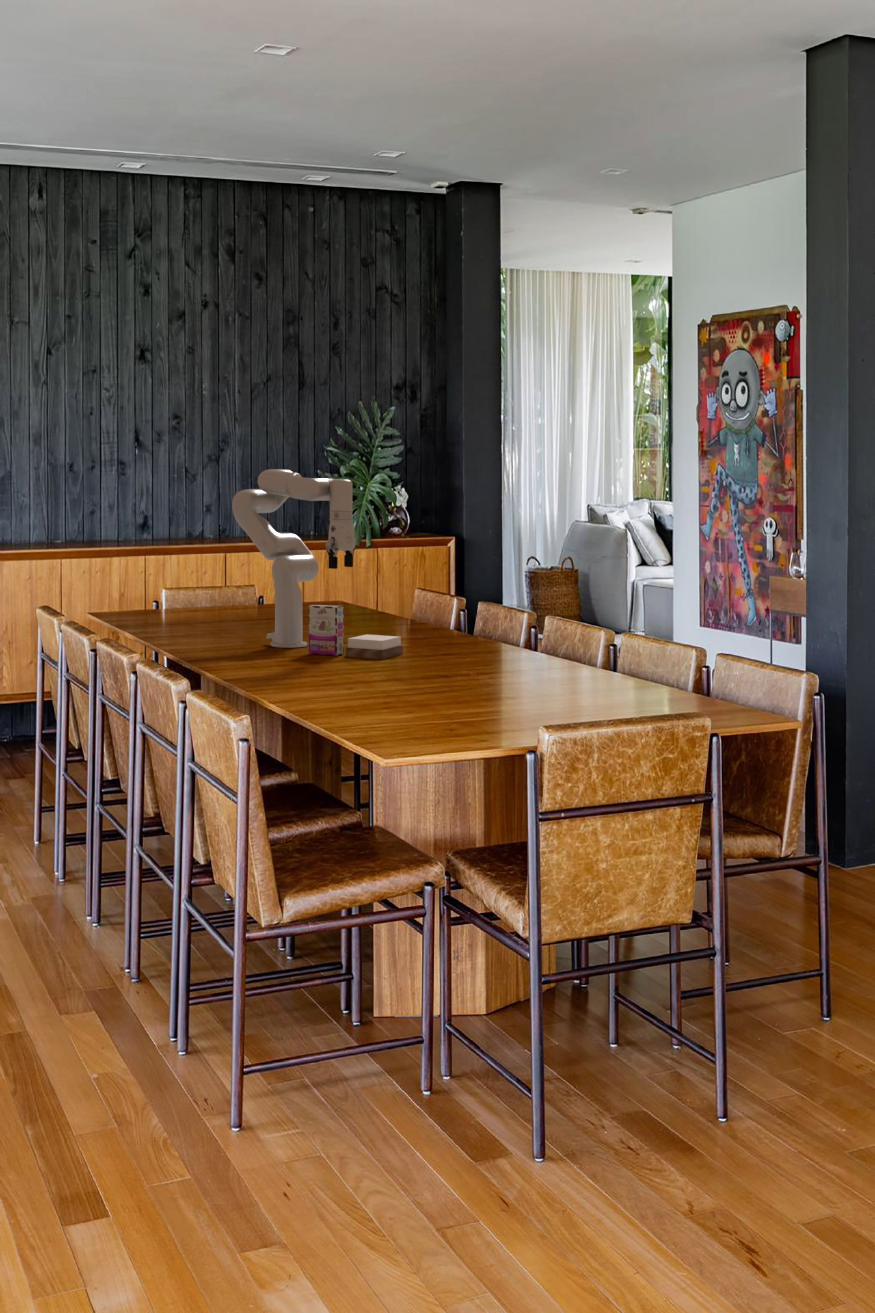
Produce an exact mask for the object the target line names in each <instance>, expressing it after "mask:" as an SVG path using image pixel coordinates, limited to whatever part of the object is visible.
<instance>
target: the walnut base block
mask: <svg viewBox="0 0 875 1313" xmlns="http://www.w3.org/2000/svg"><path fill="white" fill-rule="evenodd" d="M403 646H404V645H401V646H397V647H393V648H389V649H384V650H377V649H363V648H348V646H347V647H345V657H351V658H353V657H354V658H365V659H377V660H378V659H380V660H385V659H389V658H393V657H397V656H400V655H403V652H404V650H403V649H404V647H403Z"/></svg>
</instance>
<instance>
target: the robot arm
mask: <svg viewBox="0 0 875 1313" xmlns="http://www.w3.org/2000/svg"><path fill="white" fill-rule="evenodd" d="M257 485H258V488H249V489H242V490H240V491H238V492H236V493H235V494H234V495H233V497H232V498H233V499H232V501H231V502H232V503H231V504H232V505H231V507H232V514H233V516H234V519H235V521H236V523H237V524H238V525H239V527H240V528H241V529H242V530H243V531H244V533H245V534H246V535H247V536H248V537H249V538H250V540H251V541H252V542H253V544H254V545H255V546H256V548H257V549H258V550H259V552H260V553H261V555H262V556H263V558H265V559H266V560H268V561H273V562H272V566H271V574H272V575H271V576H272V580H273V586H274V620H275V621H274V632H271V633H267V634H266V637H265V638H266V639H267V640H272V641H271V642H270V646H271V647H273V648H281V649H283V648H284V649H286V648H287V649H292V648H293V649H297V648H304V647H305V648H306V647H307V646H308V642H307V641H303V634H304V633H303V628H304V627H303V593H302V589H301V587H300V585H299V583H301V582H303V583H304V582H310V581H312V580H314V579H316V578H317V576H318V574H319V569H320V568H319V563H318V560H317V559H316V558H315V556H314V554H313V553H312V552H311V550H310V549H309V548H308V546H307V545H306V544H305V543H304V541H303V540H302V539H301V537H300V536H298V535H297V534H295V533H292V532H278V531H276V530H275V529H274V528H273V526H272V524H270V522H269V521H268V520H267V519H266V518H264V517H263V516H261V515H260V514H270V513H273V512H275V511H277V510H278V509H279V508H280V507H281V506H282V505H283V504H284V503H285V502H286V501H287V499H289V498H292V499H296V500H302V501H309V502H319V501H323V502H326V501H327V502H329V526H328V541H326V543H325V548H326V553H327V556H328V569H331V570H333V569H334V570H337V569H338V567H339V566H338V563H339V562H338V556H337V555H338V552H339V551H340V552H343V551H344V554H343V565H344V568H353V567H354V555H355V550H356V545H357V541H356V537H355V525H354V521H353V481H352V480H350V479H347V478H346V479H345V478H344V479H343V478H339V479H337V478H331V477H330V478H329V477H327V478H326V477H320V478H319V477H313V478H312V477H303V476H302V475H301V474H300V473H298V472H294V471H291V469H286V468H285V469H281V468H279V469H278V468H277V469H275V468H274V469H273V468H271V469H266V470H263V471H262V472H261V473H260V474H259V475H258V477H257Z"/></svg>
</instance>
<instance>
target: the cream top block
mask: <svg viewBox="0 0 875 1313" xmlns="http://www.w3.org/2000/svg"><path fill="white" fill-rule="evenodd" d="M401 644H402V637H401V636H397V635H395V636H394V635H380V634H368V633H367V634H362V635H358V636H354V637H349V638H347V647H348V648H363V649H377V650H384V649H389V648H393V647H397V646H401Z"/></svg>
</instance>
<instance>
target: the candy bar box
mask: <svg viewBox="0 0 875 1313" xmlns="http://www.w3.org/2000/svg"><path fill="white" fill-rule="evenodd" d="M344 607H345V606H344V605H334V604H333V605H329V604H311V605H308V654H310V655H320V656H321V655H322V656H332V657H335V656H336V657H337V656H342V655H344V653H345V648H344V647H345V643H344V642H345V641H344V640H345V639H344V638H345V636H344V635H345V632H344V628H345V627H344V621H345V620H344V619H345V618H344V617H345V616H344V615H345V614H344Z"/></svg>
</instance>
